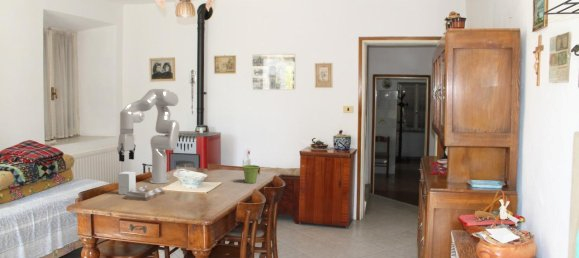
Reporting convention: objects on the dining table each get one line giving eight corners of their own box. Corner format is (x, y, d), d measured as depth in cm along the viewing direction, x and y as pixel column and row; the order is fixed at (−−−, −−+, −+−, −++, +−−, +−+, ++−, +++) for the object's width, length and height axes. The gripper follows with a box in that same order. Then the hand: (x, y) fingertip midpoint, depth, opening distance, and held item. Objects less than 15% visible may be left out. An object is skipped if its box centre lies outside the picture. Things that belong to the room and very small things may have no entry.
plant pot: (258, 184, 315) (258, 167, 314) (241, 183, 315) (241, 167, 314) (260, 181, 327) (260, 165, 326) (243, 180, 327) (243, 164, 326)
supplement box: (136, 192, 283) (136, 171, 282) (128, 195, 276) (128, 173, 275) (125, 191, 285) (125, 171, 284) (118, 194, 278) (117, 173, 277)
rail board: (144, 191, 285) (144, 185, 285) (164, 193, 282) (164, 186, 282) (124, 198, 266) (124, 191, 266) (146, 200, 263) (146, 193, 262)
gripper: (129, 130, 287) (129, 158, 288) (112, 132, 270) (112, 161, 271) (140, 131, 285) (140, 159, 286) (123, 132, 268) (123, 162, 269)
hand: (126, 160), depth 279 cm, fingers open, 9 cm apart
